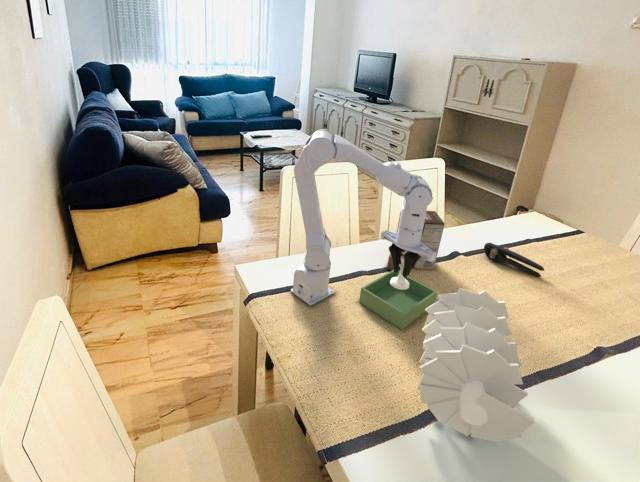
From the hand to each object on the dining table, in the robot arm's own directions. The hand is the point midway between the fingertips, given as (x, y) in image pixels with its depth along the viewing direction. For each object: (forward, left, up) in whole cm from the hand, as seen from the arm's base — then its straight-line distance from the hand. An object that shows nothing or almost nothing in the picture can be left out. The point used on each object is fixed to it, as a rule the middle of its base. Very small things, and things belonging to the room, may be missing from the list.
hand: (401, 273), depth 99 cm
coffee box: (+25, +8, -10) cm, 28 cm away
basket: (0, 0, -9) cm, 9 cm away
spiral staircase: (-14, -24, -10) cm, 30 cm away
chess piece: (0, 0, -4) cm, 4 cm away
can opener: (+47, -11, -10) cm, 49 cm away
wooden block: (+17, +11, -10) cm, 22 cm away
